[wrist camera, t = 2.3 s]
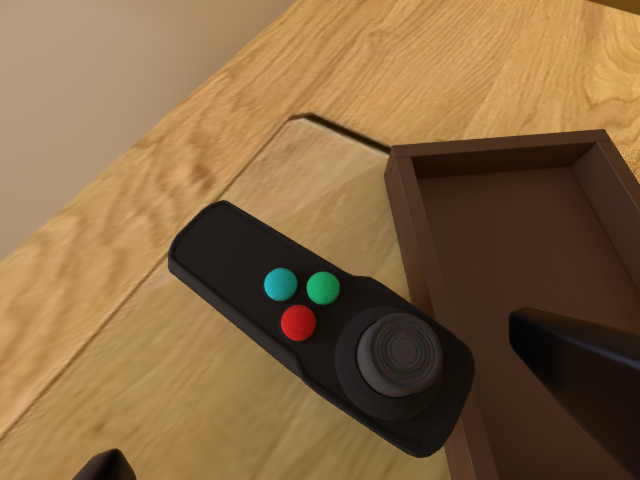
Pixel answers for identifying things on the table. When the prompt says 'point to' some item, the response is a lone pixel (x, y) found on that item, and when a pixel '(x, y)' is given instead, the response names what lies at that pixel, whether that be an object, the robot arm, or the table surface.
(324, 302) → the controller
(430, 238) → the tray
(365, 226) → the table surface
